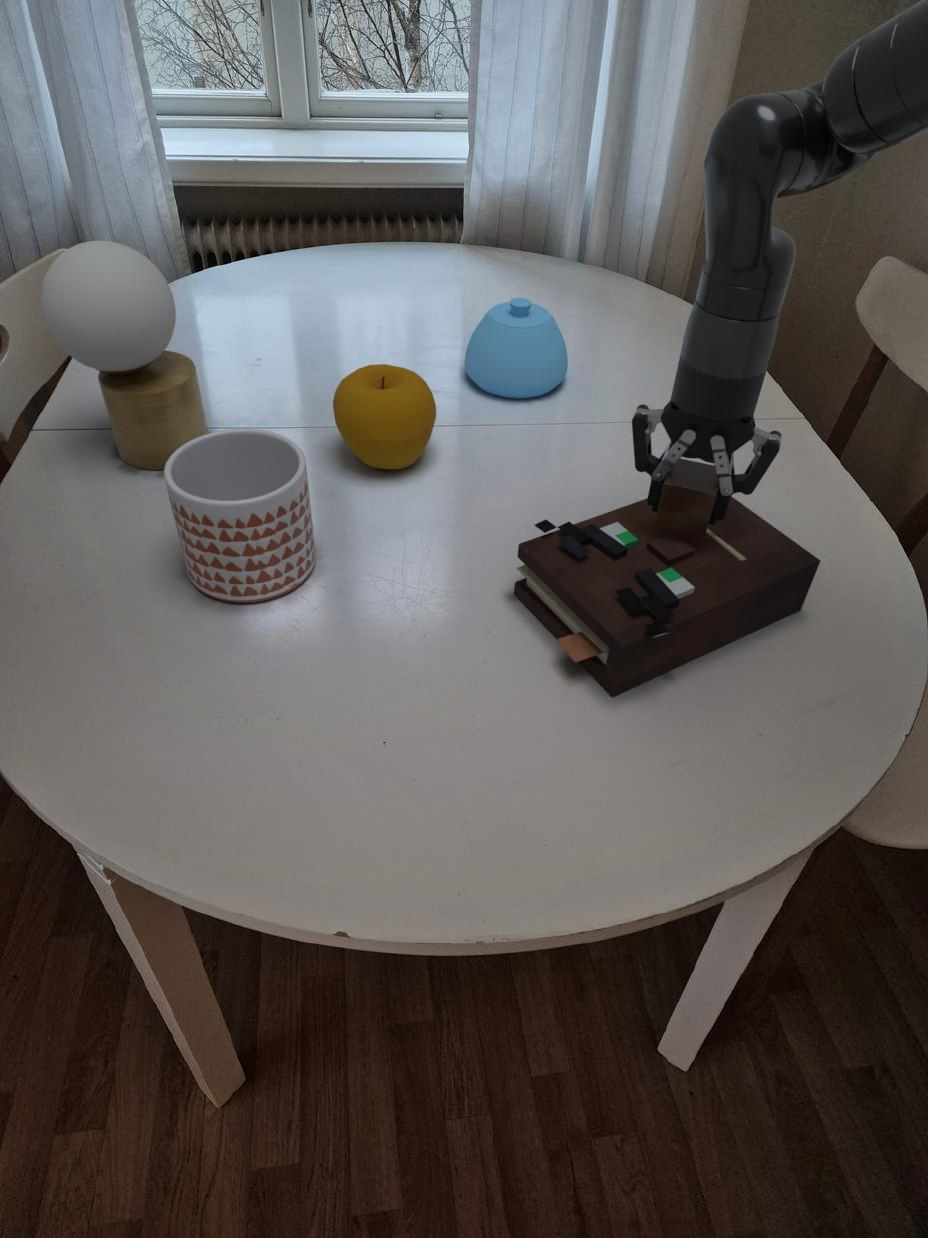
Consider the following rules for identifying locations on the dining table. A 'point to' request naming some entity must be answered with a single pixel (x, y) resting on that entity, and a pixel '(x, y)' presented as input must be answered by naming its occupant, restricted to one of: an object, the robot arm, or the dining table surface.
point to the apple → (385, 415)
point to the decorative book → (658, 588)
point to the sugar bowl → (517, 351)
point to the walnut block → (688, 497)
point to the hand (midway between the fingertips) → (684, 513)
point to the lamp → (126, 346)
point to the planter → (242, 513)
